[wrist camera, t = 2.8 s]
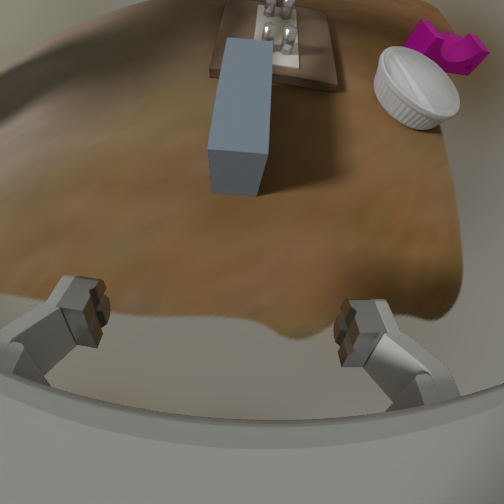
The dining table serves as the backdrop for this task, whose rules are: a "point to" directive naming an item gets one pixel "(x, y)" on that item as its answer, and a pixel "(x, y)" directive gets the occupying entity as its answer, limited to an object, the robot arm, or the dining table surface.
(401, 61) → the ramekin
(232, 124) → the slate block
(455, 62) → the toy block
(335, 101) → the dining table surface
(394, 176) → the dining table surface
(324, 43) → the peg stand
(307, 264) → the dining table surface
